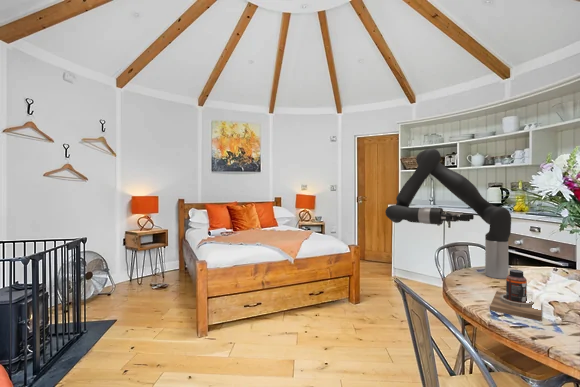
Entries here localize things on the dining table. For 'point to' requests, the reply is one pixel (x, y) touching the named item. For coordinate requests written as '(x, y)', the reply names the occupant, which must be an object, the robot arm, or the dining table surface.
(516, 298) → the supplement bottle
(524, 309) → the walnut board
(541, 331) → the dining table surface
